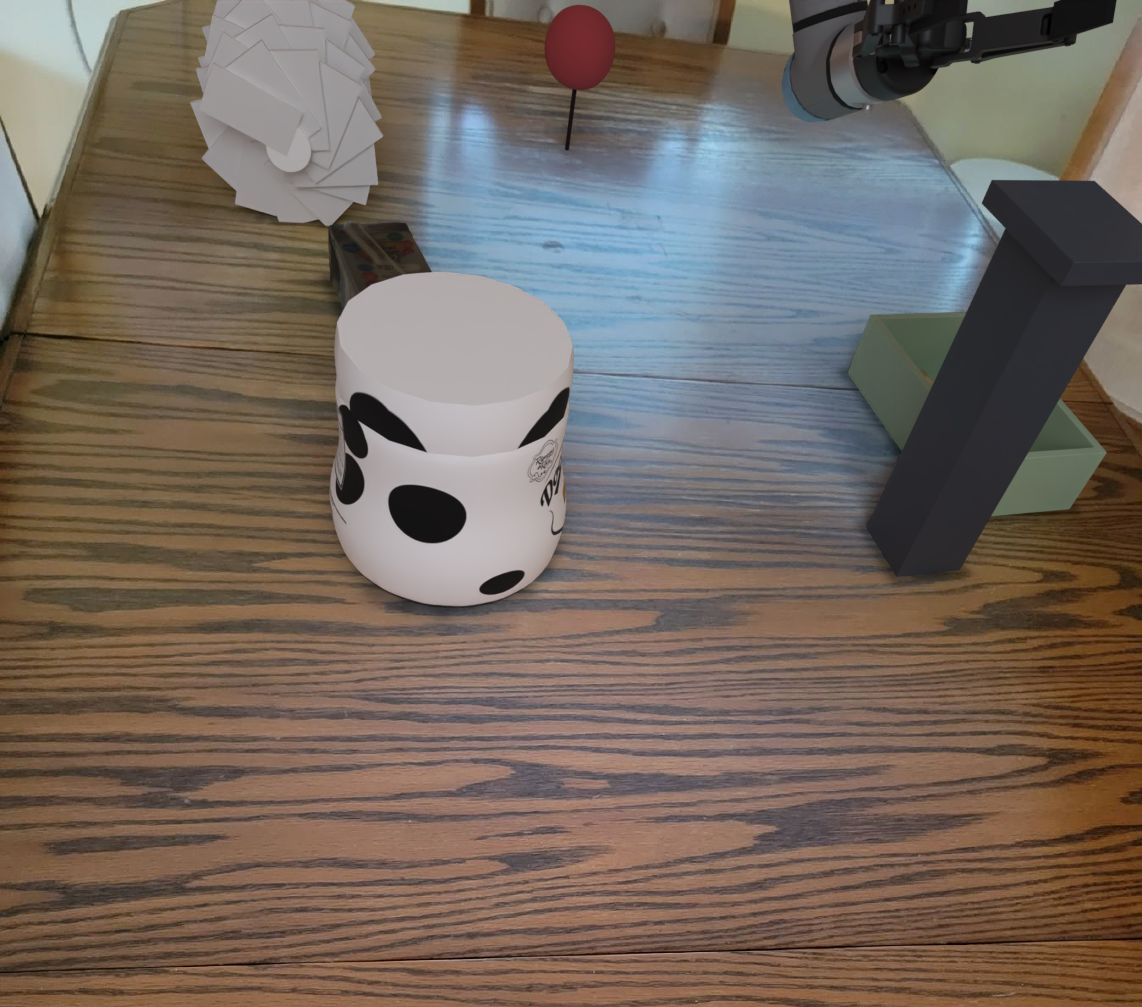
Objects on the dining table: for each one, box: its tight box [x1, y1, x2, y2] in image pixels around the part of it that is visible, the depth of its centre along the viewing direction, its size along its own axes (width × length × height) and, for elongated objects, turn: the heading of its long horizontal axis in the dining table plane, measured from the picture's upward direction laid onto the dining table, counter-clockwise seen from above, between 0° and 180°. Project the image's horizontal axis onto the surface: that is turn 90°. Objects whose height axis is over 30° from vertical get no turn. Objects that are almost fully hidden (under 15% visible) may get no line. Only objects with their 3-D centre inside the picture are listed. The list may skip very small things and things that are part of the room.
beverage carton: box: [327, 220, 433, 311], centre depth 93 cm, size 8×19×7 cm, turn 20°
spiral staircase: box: [189, 0, 384, 227], centre depth 103 cm, size 18×18×25 cm
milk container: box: [328, 271, 575, 609], centre depth 73 cm, size 17×17×18 cm
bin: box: [847, 311, 1107, 517], centre depth 94 cm, size 22×13×7 cm, turn 15°
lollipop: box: [543, 4, 616, 151], centre depth 116 cm, size 8×8×15 cm
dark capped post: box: [865, 179, 1142, 578], centre depth 75 cm, size 10×8×28 cm
